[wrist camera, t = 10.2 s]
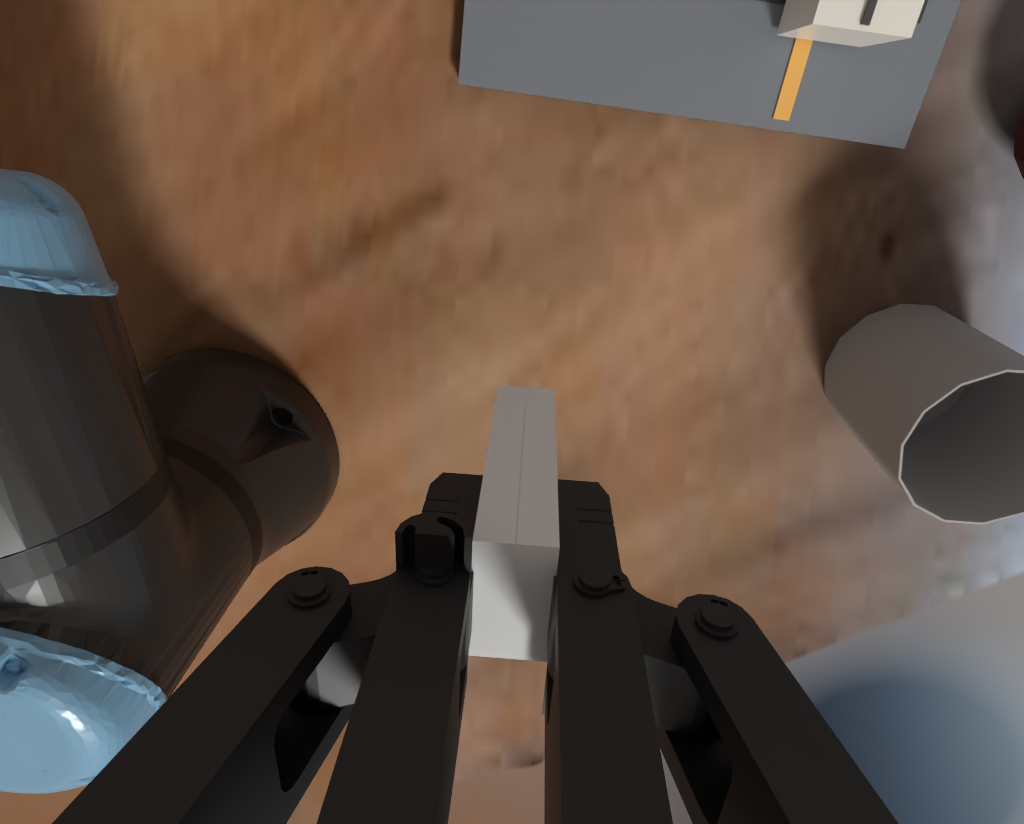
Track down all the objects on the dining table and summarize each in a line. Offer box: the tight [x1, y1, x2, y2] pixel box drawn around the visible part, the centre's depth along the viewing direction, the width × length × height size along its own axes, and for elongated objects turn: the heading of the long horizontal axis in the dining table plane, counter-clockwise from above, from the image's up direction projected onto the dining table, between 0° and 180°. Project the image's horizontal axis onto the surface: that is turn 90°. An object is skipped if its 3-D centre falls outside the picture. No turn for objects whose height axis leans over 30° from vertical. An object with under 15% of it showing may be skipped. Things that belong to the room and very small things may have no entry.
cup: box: [824, 304, 1024, 525], centre depth 34 cm, size 8×8×10 cm
